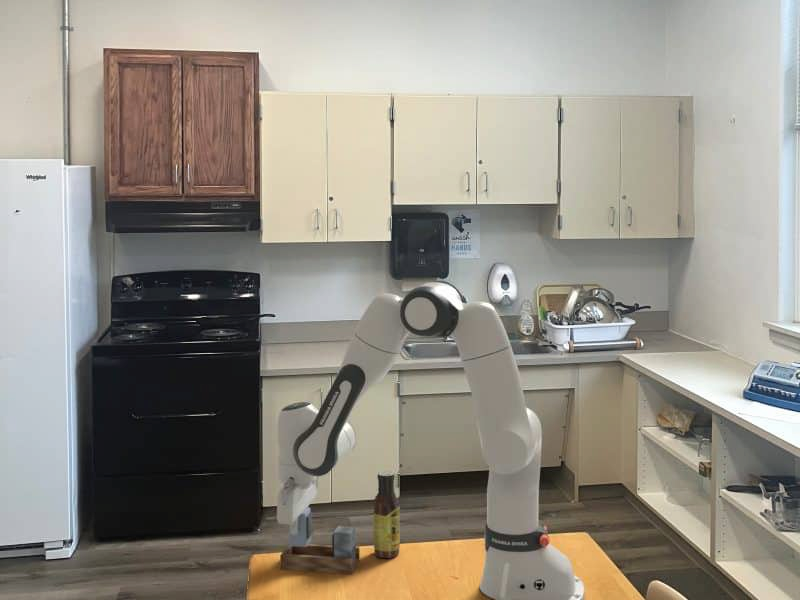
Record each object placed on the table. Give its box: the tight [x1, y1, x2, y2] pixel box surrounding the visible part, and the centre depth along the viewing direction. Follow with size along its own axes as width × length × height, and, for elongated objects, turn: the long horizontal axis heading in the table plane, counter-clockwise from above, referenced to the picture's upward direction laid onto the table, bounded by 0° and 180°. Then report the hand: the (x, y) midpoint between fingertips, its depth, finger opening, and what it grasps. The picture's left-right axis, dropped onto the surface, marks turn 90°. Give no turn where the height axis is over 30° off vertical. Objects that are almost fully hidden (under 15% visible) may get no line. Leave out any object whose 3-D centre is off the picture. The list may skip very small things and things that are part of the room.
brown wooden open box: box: [279, 525, 361, 575], centre depth 204 cm, size 17×8×9 cm, turn 79°
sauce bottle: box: [372, 470, 401, 559], centre depth 209 cm, size 6×6×20 cm
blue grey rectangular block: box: [288, 506, 314, 547], centre depth 204 cm, size 5×4×8 cm
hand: (298, 529), depth 205 cm, fingers closed on blue grey rectangular block, 4 cm apart
